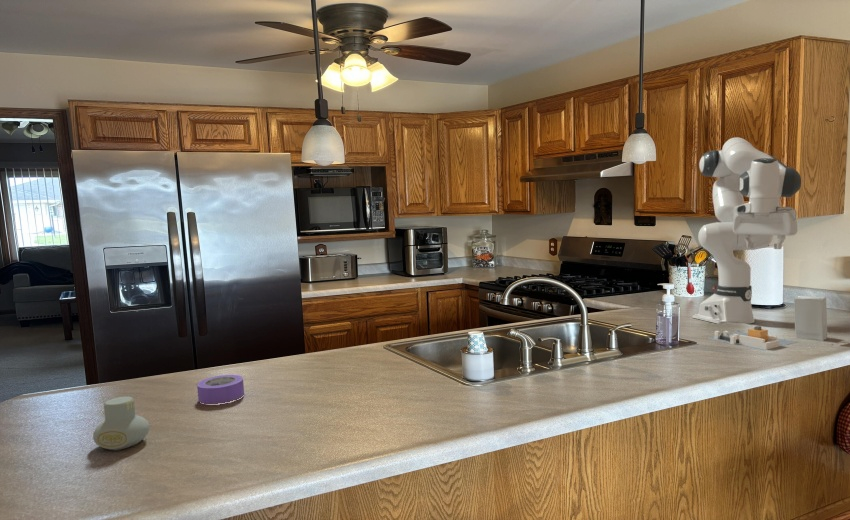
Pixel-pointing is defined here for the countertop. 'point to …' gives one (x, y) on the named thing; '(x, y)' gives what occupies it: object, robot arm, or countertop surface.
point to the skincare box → (810, 317)
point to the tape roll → (220, 389)
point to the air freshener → (120, 425)
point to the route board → (749, 340)
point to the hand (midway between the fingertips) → (763, 248)
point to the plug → (758, 333)
